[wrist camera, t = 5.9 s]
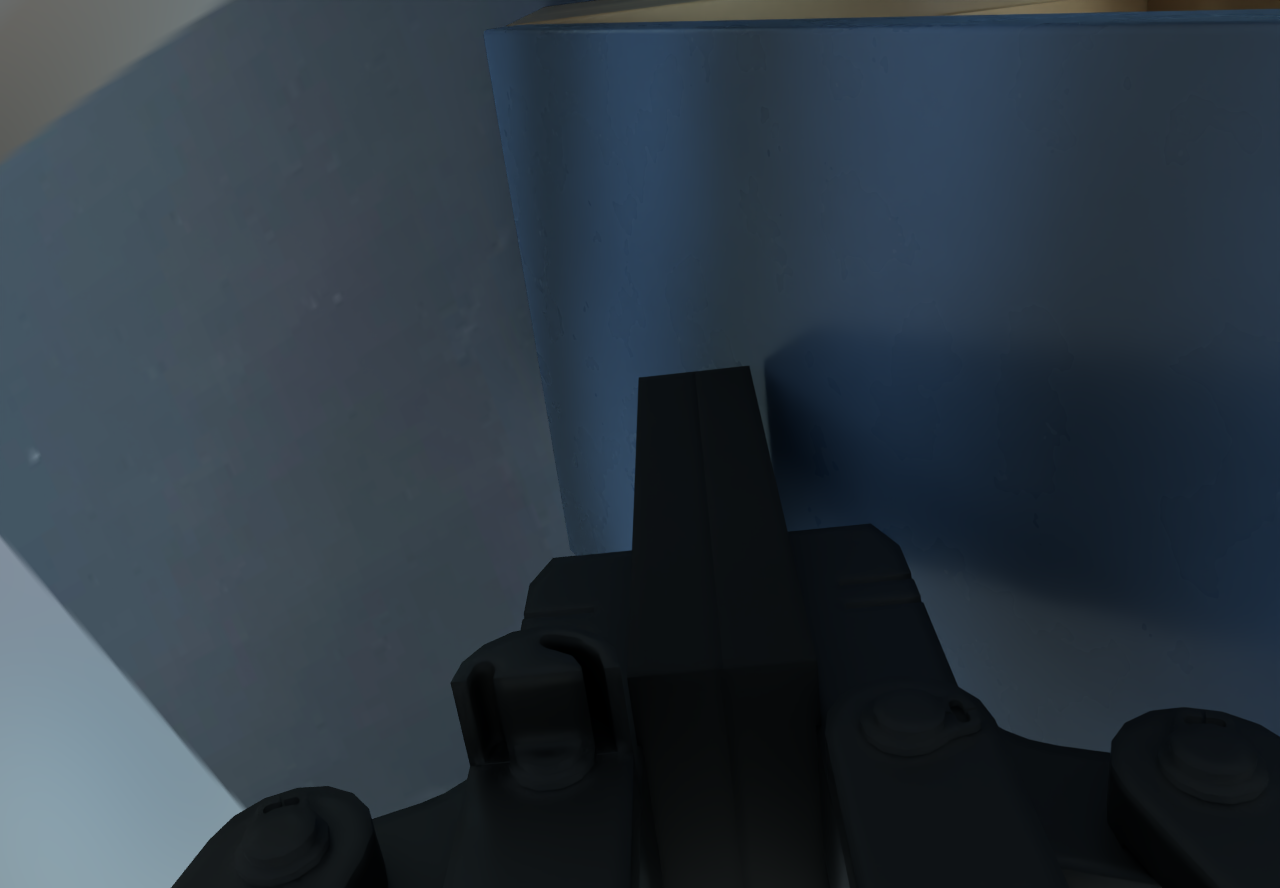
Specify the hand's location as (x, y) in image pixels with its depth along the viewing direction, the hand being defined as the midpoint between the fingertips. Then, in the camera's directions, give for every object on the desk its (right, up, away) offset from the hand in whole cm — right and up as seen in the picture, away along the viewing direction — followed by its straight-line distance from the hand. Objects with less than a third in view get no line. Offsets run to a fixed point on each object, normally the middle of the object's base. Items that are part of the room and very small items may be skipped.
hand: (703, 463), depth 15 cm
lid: (+1, 0, +1) cm, 2 cm away
